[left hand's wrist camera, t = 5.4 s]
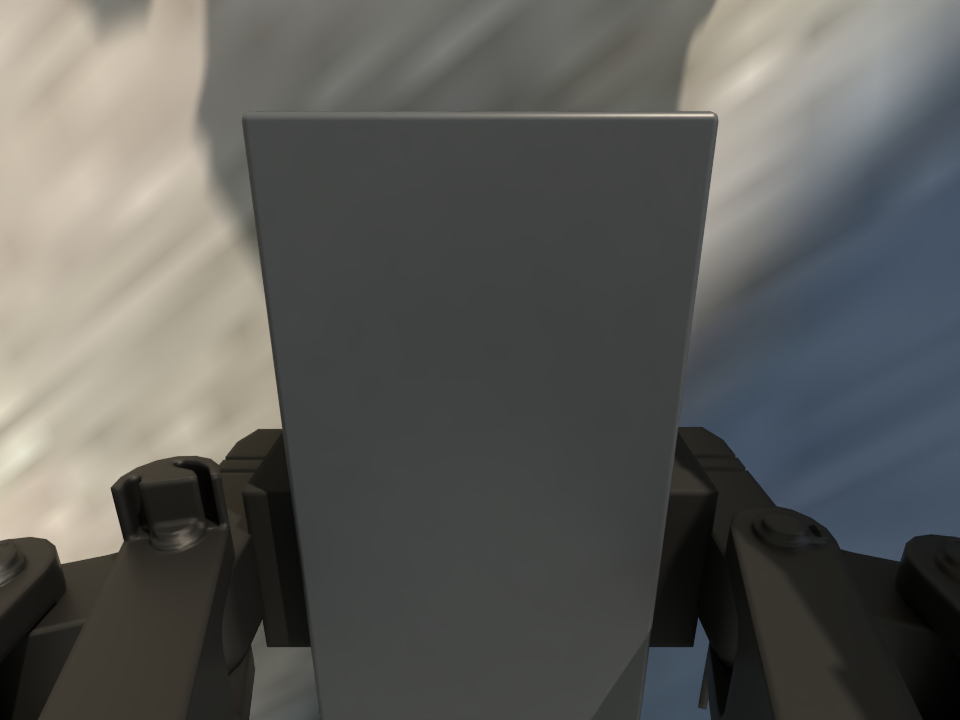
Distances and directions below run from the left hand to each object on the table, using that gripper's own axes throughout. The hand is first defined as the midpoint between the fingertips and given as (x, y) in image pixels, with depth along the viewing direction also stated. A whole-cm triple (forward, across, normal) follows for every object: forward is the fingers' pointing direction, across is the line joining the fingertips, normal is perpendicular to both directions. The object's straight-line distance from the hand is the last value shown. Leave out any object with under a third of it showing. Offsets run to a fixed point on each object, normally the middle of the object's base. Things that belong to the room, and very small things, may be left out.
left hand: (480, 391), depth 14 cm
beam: (+1, 0, -35) cm, 35 cm away
